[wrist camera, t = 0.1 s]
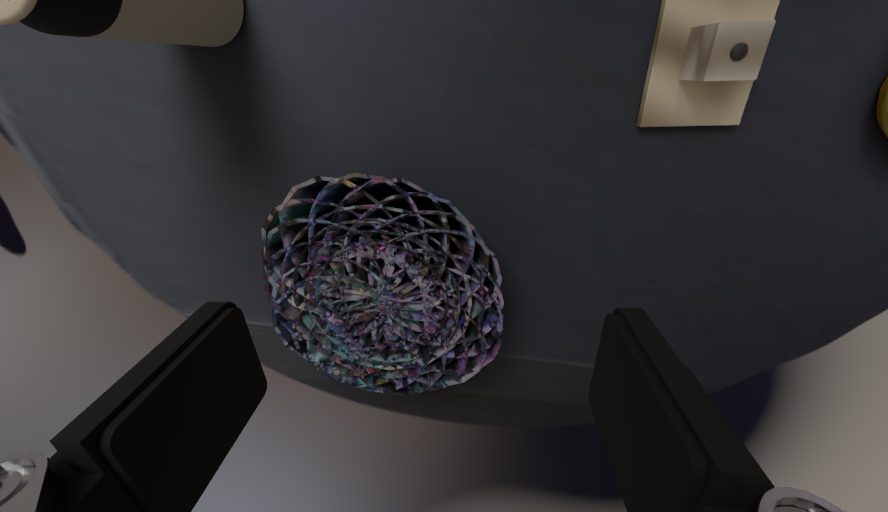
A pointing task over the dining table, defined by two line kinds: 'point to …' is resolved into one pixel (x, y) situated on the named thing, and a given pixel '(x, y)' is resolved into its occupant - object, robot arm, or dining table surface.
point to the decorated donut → (883, 107)
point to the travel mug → (131, 19)
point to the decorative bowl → (381, 284)
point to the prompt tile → (694, 93)
